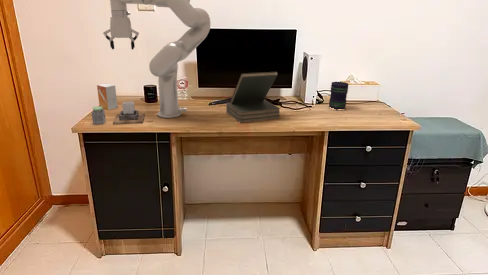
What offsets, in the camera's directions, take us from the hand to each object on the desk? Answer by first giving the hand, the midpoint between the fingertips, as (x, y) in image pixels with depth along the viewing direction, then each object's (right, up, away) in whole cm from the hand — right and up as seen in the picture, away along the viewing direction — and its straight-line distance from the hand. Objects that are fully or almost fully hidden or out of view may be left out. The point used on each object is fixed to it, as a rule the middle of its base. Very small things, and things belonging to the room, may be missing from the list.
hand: (122, 49), depth 179 cm
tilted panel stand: (+67, -35, +9) cm, 76 cm away
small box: (-14, -29, +17) cm, 36 cm away
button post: (-9, -38, -8) cm, 40 cm away
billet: (+4, -36, -3) cm, 36 cm away
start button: (-9, -38, -8) cm, 40 cm away
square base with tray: (+4, -37, -2) cm, 37 cm away
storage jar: (+119, -29, +27) cm, 125 cm away
